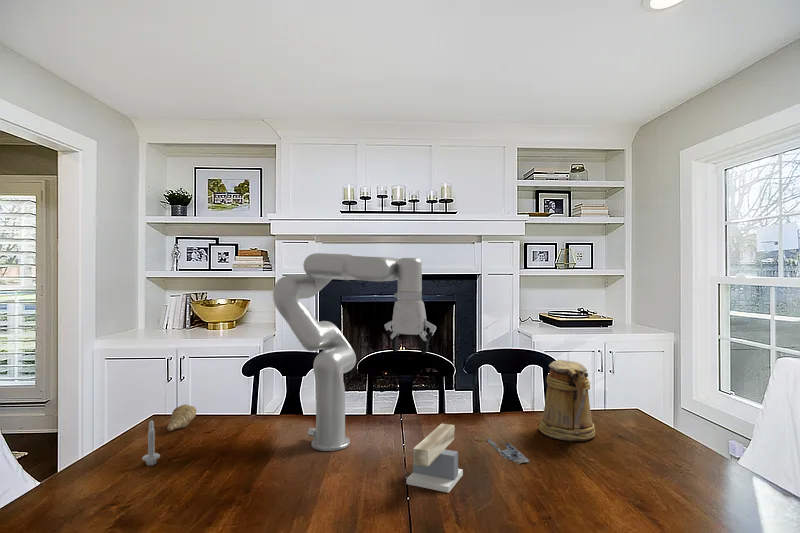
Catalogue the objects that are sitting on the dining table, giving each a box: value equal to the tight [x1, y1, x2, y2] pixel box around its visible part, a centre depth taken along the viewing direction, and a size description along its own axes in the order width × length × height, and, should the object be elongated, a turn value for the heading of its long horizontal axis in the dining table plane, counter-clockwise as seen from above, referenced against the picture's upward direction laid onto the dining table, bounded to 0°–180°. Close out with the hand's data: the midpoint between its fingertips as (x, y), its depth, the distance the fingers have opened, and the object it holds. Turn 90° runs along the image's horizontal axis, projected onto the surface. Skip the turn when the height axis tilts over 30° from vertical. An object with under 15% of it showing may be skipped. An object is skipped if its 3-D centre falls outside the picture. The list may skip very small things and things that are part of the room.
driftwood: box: [486, 438, 531, 465], centre depth 151 cm, size 21×7×2 cm, turn 9°
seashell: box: [166, 403, 198, 432], centre depth 174 cm, size 14×8×8 cm, turn 2°
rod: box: [413, 423, 456, 467], centre depth 131 cm, size 4×22×4 cm, turn 156°
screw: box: [141, 420, 161, 466], centre depth 142 cm, size 13×5×5 cm
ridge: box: [406, 447, 464, 493], centre depth 131 cm, size 12×12×8 cm
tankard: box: [538, 359, 596, 442], centre depth 166 cm, size 18×24×25 cm
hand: (409, 352), depth 148 cm, fingers open, 9 cm apart
